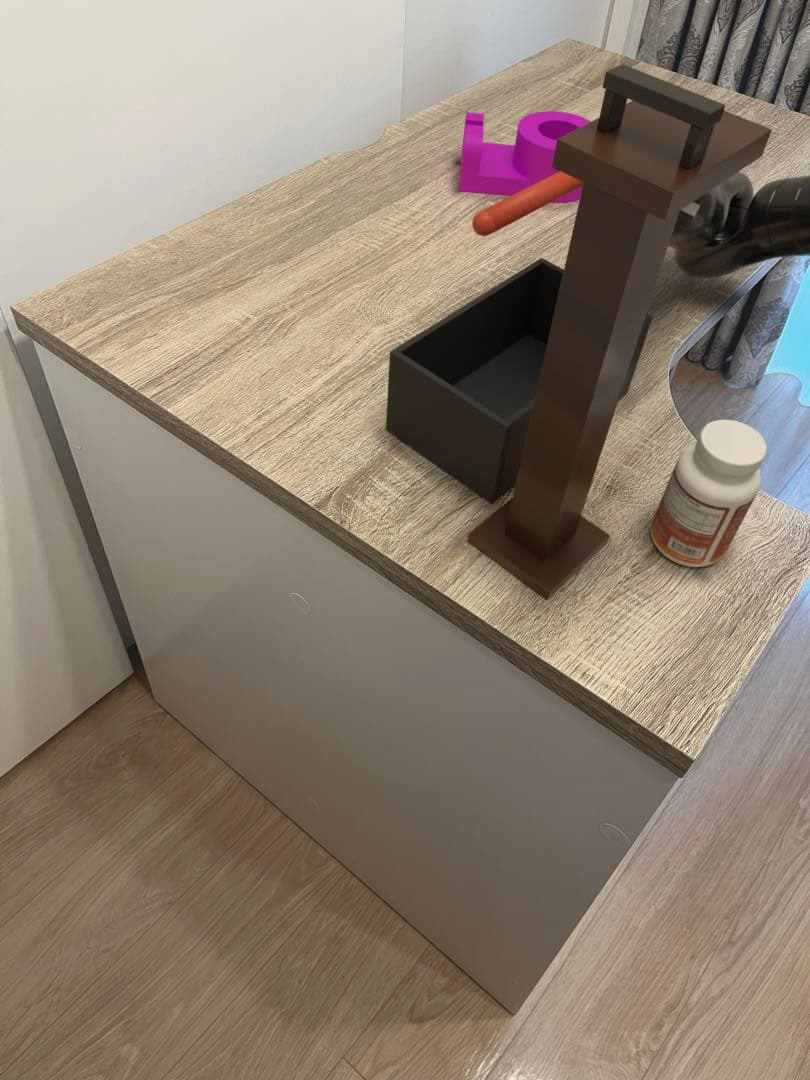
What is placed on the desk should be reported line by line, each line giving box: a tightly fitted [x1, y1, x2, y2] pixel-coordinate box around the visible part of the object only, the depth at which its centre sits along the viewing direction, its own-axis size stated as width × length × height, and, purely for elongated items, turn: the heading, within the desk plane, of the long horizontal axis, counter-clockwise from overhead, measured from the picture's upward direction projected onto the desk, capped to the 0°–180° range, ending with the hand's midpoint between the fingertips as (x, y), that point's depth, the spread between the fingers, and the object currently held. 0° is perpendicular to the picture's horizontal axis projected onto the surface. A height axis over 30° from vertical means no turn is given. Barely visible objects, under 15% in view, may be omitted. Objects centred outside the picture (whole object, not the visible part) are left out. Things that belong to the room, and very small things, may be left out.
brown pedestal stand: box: [467, 63, 773, 600], centre depth 56 cm, size 11×8×35 cm
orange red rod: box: [471, 171, 584, 237], centre depth 61 cm, size 17×2×2 cm, turn 137°
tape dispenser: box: [458, 110, 592, 204], centre depth 103 cm, size 16×10×6 cm, turn 86°
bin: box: [385, 257, 654, 504], centre depth 75 cm, size 20×12×9 cm, turn 137°
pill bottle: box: [650, 419, 768, 568], centre depth 65 cm, size 6×6×11 cm
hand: (582, 154), depth 61 cm, fingers closed on orange red rod, 1 cm apart
